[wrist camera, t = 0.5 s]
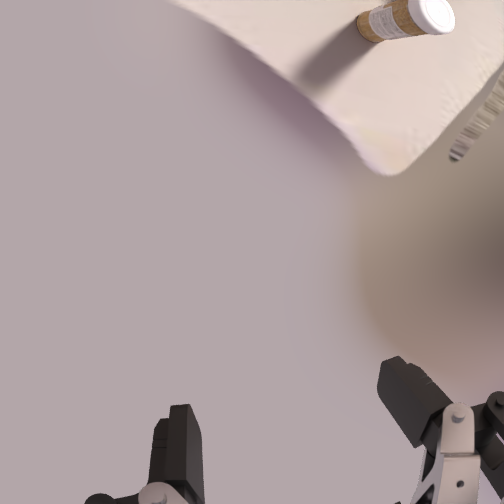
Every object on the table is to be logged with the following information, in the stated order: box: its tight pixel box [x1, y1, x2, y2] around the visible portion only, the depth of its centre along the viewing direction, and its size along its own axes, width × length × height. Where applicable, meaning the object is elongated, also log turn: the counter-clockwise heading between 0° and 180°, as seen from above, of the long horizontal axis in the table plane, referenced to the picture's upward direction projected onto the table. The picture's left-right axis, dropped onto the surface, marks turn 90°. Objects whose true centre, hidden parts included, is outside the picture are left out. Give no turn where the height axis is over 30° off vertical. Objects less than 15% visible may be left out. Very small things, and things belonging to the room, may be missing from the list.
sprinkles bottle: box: [357, 0, 455, 42], centre depth 19 cm, size 5×5×14 cm
